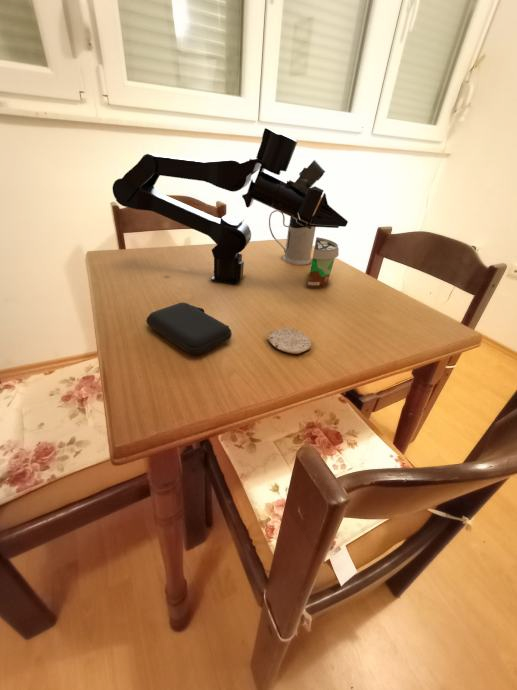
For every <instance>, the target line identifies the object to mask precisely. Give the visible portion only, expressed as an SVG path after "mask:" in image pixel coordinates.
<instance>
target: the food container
mask: <svg viewBox="0 0 517 690" xmlns="http://www.w3.org/2000/svg"><path fill="white" fill-rule="evenodd" d="M338 257H339V244H338V243H336V242H334V241H333V240H330V239H327V238H324V237H318V236H316V238H315V242H314V248H313V254H312V259H311V263H310V264H311V265H310V271H309V274H308V275H309V276H308V281H307V286H306V287H307V288H309V289H321V288H324V287H326V286H328V282H329V278H330V275H331V273H332V269H333V265H334V262H335V259H336V258H338Z"/></svg>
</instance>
